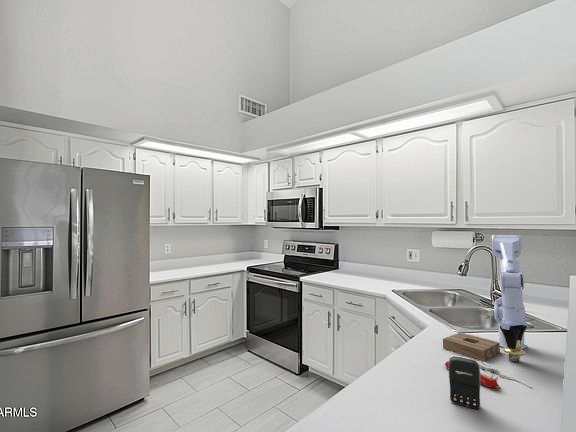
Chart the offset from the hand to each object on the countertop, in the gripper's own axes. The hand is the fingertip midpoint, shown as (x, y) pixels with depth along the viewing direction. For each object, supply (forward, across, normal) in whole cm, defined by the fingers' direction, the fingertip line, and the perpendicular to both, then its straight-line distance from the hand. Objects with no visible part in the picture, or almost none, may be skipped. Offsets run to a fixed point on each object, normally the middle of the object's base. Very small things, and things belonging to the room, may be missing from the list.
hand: (513, 347), depth 103 cm
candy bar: (+5, -26, +3) cm, 27 cm away
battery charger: (+5, -43, -3) cm, 43 cm away
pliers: (+5, -18, -1) cm, 19 cm away
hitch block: (+5, -2, +13) cm, 14 cm away
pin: (+5, 0, 0) cm, 5 cm away
